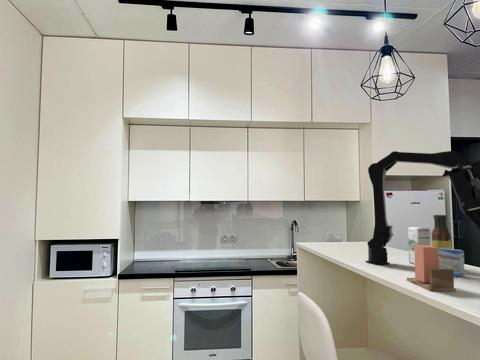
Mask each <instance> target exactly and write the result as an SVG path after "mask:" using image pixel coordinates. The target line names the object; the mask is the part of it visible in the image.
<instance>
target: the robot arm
mask: <svg viewBox="0 0 480 360" xmlns="http://www.w3.org/2000/svg"><path fill="white" fill-rule="evenodd" d="M397 163H408V164H409V163H411V164H421V165H423V164H424V165H425V164H426V165H427V164H428V165H433V166H438V167H442V168H446V169H444V172H443V174H442V175H441V177H442V178H447V177H449V180H450V183H451V186H452V187H453V190H454V193H455V196H456V197H457V200H458V203H459V204H458V206H459V209H460V211H461V212H462V213H463V214H464V215H465V216H466V217H467V219H468V220H469V221H471V223H472V224H473V225H474V226H475V227H476V228H477V229H479V230H480V188H479V189H478V188H477V186H476V185H474V184H473V183H474V182H473V181H472V179H473V180H477V182H480V160H476V161H474V162H471V161H469V160H468V159H465V158H464V157H463V156H462V154H461V153H459V152H458V151H456V150H449V151H439V152H434V153H433V152H432V153H429V152H408V151H405V152H403V151H396V150H395V151H392V152H390V153H389V154H387V155H386V156H385V157H383V158H382V159H380V160H379V161H377V162H374V163H371V164H370V165H369V166H368V169H367V172H368V177H369V180H370V182H371V185H372V191H373V202H374V217H375V222H374V228H373V235H372V236H373V237H372V238H371V239H370V240H369V241H368V242H367V243H366V244H367V246H368V247H367V251H368V256H367V257H368V258H367V259H368V260H365V263H369V264H372V265H377V266H378V265H379V266H380V265H381V266H382V265H383V266H384V265H390V262H388V251H387V248H386V246H387V244H388V243H389V242H391V240H392V237H393V236H394V233H393V225H389V223H388V220H387V208H386V207H387V205H386V196H385V183H386V178H387V177H386V175H387V172H388V171H389V170H391V169H392V168H393V167H394V166H395V165H396V164H397ZM460 168H461V169H462V170H461V169H460ZM447 169H451V170H447ZM459 169H460V170H459ZM470 176H471V177H470ZM471 178H472V179H471Z"/></svg>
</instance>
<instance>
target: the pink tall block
mask: <svg viewBox="0 0 480 360" xmlns="http://www.w3.org/2000/svg"><path fill="white" fill-rule="evenodd" d="M414 246H415V264H414V278H415V279H417V280H419V281H422V282H424V283H430V272H429V269H439V253H438V247H434V246H432V245H431V246H429V245H414Z"/></svg>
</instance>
